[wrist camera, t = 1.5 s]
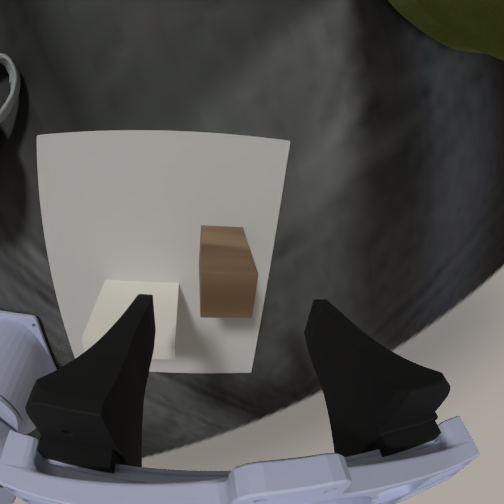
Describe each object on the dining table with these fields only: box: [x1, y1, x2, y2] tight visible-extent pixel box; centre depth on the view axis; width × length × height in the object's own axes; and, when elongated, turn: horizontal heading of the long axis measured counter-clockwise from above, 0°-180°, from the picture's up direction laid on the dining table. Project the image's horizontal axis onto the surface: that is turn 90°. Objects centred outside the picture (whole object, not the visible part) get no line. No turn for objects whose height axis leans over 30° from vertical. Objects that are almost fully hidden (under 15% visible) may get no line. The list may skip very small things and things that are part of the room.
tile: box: [81, 280, 179, 360], centre depth 20 cm, size 1×6×7 cm, turn 83°
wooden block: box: [199, 225, 259, 318], centre depth 20 cm, size 3×3×6 cm
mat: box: [37, 130, 290, 373], centre depth 23 cm, size 22×18×1 cm
